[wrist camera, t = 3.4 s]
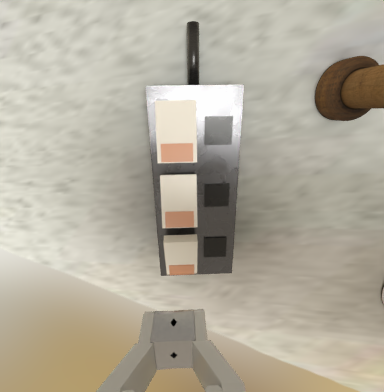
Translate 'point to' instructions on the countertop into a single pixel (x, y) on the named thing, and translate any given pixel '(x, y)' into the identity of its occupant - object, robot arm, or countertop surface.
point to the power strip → (204, 162)
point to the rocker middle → (179, 200)
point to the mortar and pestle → (350, 89)
